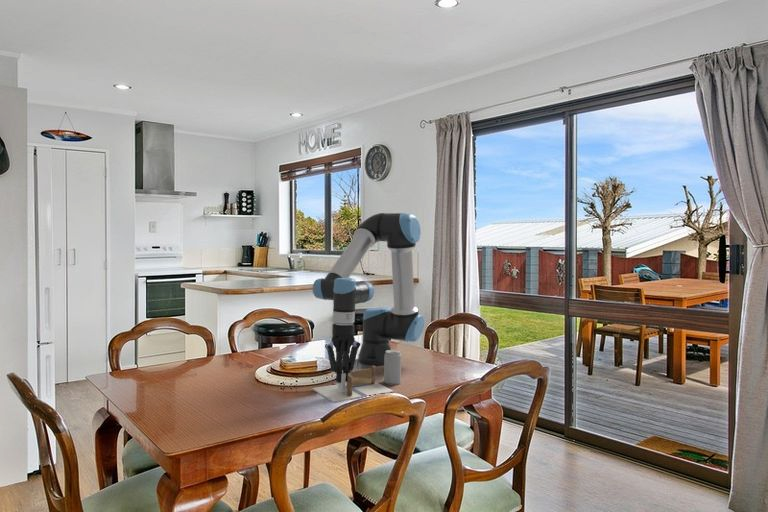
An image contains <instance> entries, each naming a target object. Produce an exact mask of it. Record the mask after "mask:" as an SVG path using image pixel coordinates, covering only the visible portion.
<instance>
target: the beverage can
mask: <svg viewBox="0 0 768 512" xmlns="http://www.w3.org/2000/svg"><path fill="white" fill-rule="evenodd" d="M401 380H402V354H401V351H400V350H397V349H391V350H387V351H386V353H385V355H384V365H383V382H384V383H385V384H387V385H392V386H394V385H398V384H400V383H401Z"/></svg>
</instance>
